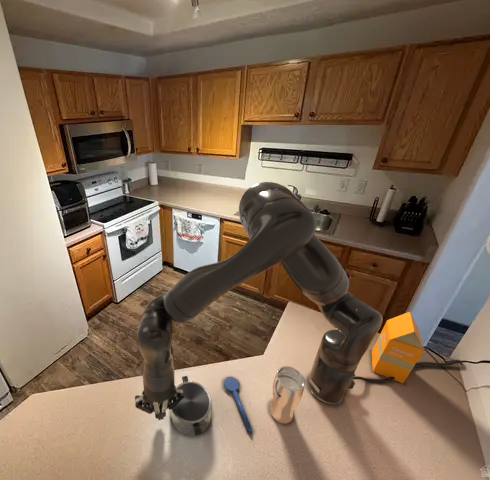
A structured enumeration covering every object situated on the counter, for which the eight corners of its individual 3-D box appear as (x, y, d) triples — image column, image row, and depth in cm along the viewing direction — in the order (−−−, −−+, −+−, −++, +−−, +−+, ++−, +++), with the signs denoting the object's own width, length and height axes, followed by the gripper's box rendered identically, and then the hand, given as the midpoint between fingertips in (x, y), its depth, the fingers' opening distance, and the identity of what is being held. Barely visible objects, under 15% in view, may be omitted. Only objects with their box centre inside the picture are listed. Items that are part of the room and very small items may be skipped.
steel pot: (202, 383, 79) (202, 371, 76) (218, 439, 66) (219, 426, 63) (166, 391, 77) (166, 378, 74) (176, 449, 64) (176, 437, 61)
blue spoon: (235, 377, 80) (235, 374, 80) (258, 431, 67) (259, 428, 67) (221, 380, 80) (221, 377, 79) (242, 435, 67) (243, 433, 66)
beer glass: (296, 428, 68) (309, 394, 60) (269, 422, 69) (277, 388, 62) (291, 401, 74) (302, 367, 66) (266, 396, 75) (274, 363, 68)
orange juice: (372, 371, 81) (396, 325, 71) (371, 350, 87) (393, 306, 78) (403, 383, 77) (434, 337, 67) (400, 361, 84) (427, 315, 74)
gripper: (131, 397, 57) (136, 437, 65) (189, 385, 59) (187, 425, 67) (129, 366, 63) (134, 407, 71) (182, 357, 66) (181, 397, 74)
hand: (160, 416), depth 69 cm, fingers closed
